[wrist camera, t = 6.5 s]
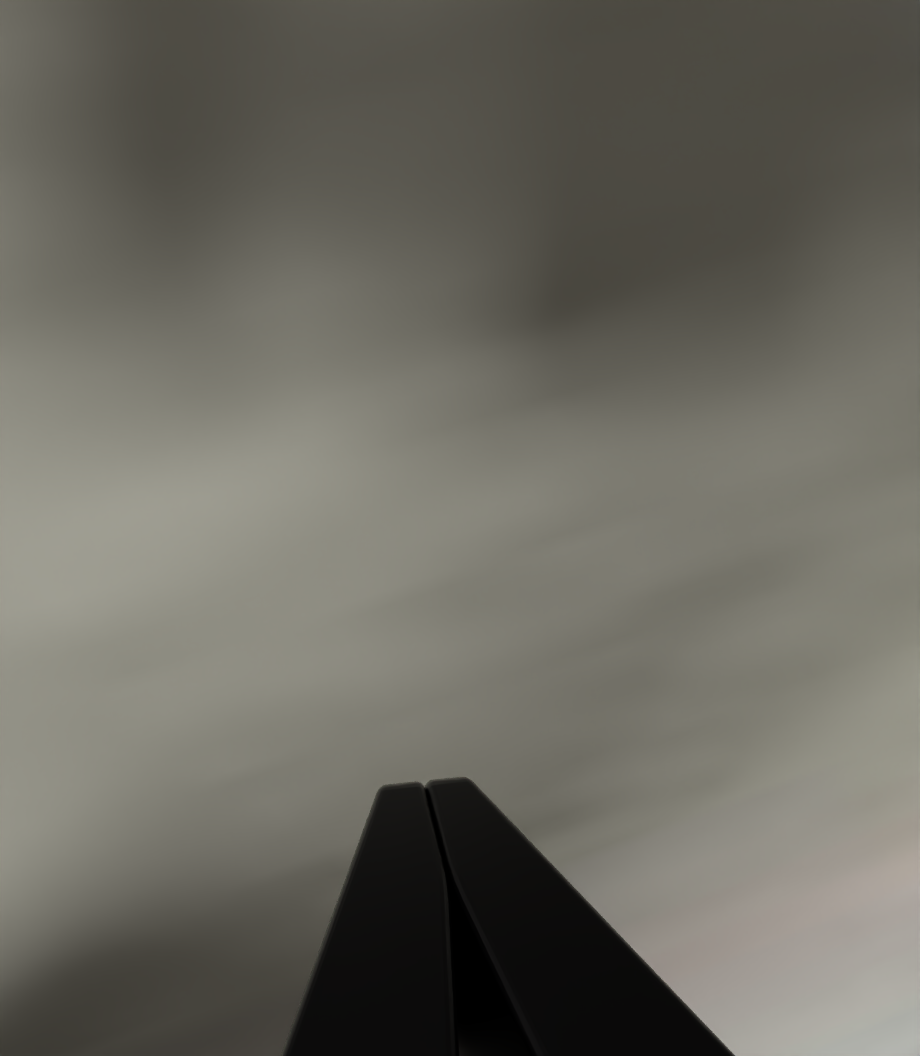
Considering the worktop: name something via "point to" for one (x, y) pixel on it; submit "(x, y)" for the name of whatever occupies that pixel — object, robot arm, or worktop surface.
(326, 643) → the worktop surface
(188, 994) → the worktop surface
